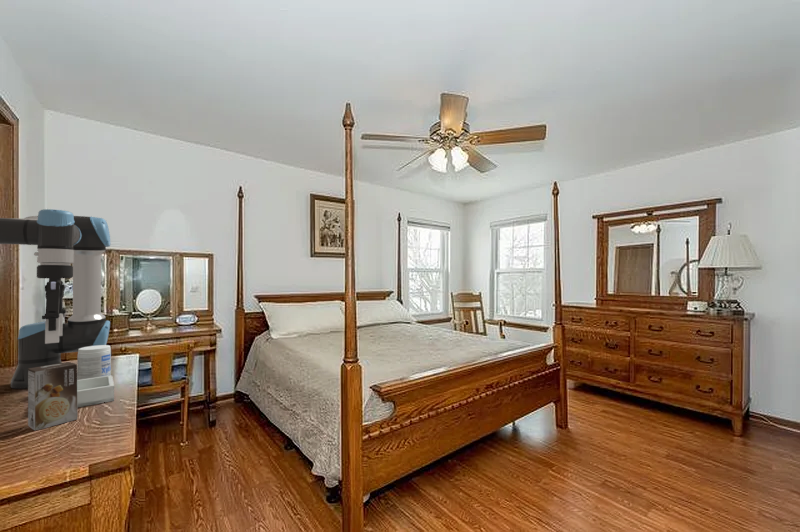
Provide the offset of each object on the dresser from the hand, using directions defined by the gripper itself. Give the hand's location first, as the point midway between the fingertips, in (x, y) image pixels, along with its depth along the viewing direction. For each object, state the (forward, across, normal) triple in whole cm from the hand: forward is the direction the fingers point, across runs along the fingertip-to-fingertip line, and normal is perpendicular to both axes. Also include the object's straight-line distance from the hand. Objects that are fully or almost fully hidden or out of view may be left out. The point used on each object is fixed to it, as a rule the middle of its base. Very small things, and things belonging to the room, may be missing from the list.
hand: (54, 339), depth 103 cm
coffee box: (+24, 0, 0) cm, 24 cm away
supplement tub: (+24, -34, +9) cm, 43 cm away
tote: (+23, -19, +6) cm, 31 cm away
